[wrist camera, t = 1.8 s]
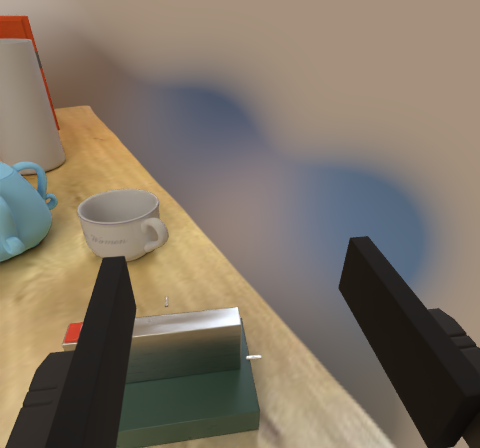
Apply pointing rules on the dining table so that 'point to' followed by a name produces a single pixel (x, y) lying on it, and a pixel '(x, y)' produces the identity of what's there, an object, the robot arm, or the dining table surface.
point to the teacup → (122, 223)
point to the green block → (190, 405)
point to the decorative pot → (23, 209)
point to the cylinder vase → (26, 110)
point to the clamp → (21, 30)
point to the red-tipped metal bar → (179, 344)
